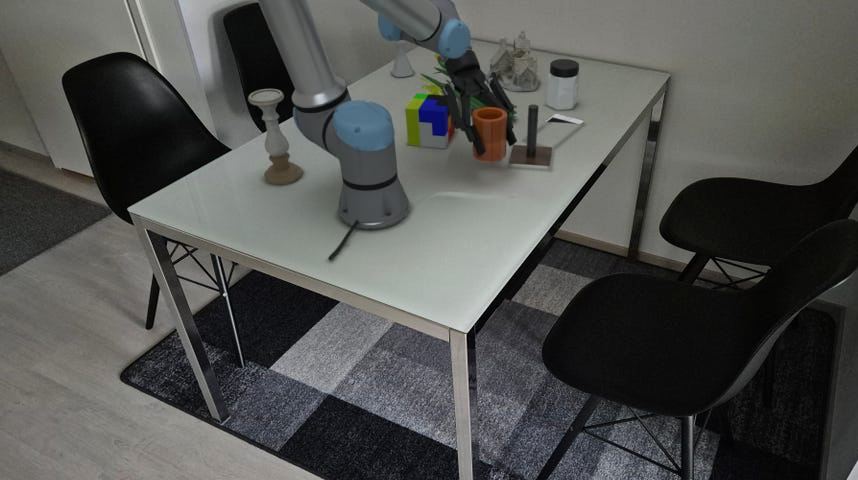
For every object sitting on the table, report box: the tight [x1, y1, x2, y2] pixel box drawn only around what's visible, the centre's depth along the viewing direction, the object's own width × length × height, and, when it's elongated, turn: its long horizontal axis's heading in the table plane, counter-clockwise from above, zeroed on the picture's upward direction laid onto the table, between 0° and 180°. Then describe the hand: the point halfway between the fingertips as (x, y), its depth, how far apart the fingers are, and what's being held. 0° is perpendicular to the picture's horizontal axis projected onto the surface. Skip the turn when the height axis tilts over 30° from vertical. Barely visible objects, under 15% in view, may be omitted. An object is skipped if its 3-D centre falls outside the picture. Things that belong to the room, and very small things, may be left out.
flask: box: [391, 40, 414, 78], centre depth 200 cm, size 7×7×10 cm
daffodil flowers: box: [417, 53, 518, 121], centre depth 176 cm, size 17×15×35 cm
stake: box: [508, 103, 553, 167], centre depth 153 cm, size 10×10×14 cm
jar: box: [546, 58, 580, 111], centre depth 180 cm, size 9×8×12 cm
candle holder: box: [247, 88, 303, 186], centre depth 145 cm, size 9×9×20 cm
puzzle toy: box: [405, 92, 455, 149], centre depth 163 cm, size 10×10×10 cm
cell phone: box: [544, 113, 585, 125], centre depth 169 cm, size 9×18×1 cm, turn 147°
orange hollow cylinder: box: [471, 107, 508, 163], centre depth 143 cm, size 8×8×10 cm
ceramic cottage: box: [487, 29, 540, 93], centre depth 193 cm, size 16×16×15 cm
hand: (498, 148), depth 142 cm, fingers closed on orange hollow cylinder, 8 cm apart
